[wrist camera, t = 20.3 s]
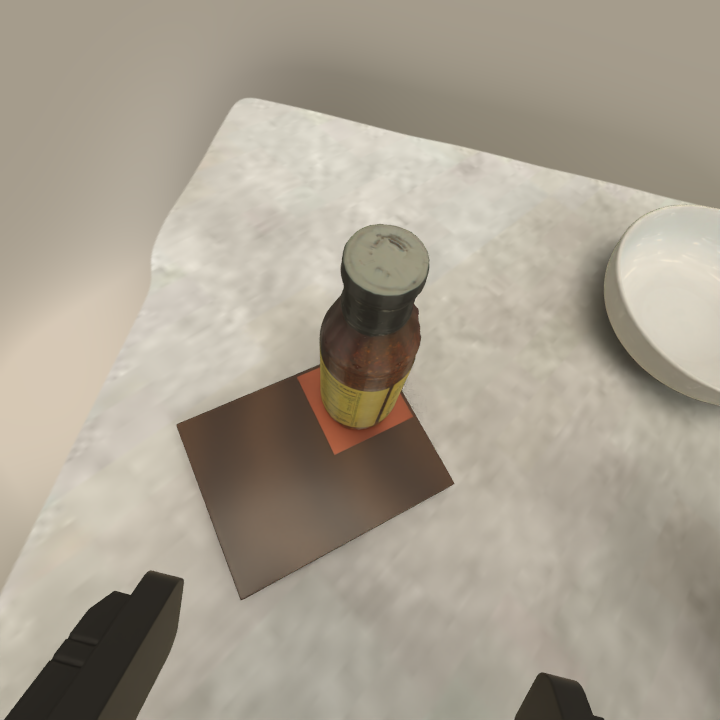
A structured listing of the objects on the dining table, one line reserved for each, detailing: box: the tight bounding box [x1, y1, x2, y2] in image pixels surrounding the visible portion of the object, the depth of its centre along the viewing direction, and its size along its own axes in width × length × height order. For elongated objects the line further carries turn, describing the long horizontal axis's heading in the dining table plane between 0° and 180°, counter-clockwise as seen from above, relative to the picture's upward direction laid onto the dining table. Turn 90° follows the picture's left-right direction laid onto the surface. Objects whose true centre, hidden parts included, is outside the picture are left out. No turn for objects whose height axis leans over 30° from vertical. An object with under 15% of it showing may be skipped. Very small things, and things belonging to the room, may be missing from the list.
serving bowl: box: [604, 205, 720, 406], centre depth 44 cm, size 21×21×7 cm
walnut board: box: [177, 365, 454, 600], centre depth 37 cm, size 18×14×2 cm
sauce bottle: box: [320, 224, 429, 430], centre depth 30 cm, size 6×6×20 cm
